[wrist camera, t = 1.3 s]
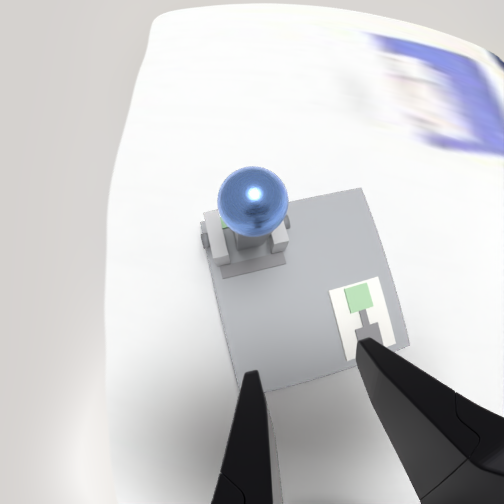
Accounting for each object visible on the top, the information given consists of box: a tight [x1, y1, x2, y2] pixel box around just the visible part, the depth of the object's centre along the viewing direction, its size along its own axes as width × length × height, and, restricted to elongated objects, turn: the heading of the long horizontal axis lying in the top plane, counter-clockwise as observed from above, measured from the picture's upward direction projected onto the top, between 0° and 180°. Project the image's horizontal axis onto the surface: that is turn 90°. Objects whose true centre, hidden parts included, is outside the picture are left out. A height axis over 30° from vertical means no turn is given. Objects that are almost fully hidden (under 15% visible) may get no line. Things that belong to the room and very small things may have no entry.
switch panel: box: [200, 188, 410, 393], centre depth 22 cm, size 13×13×4 cm
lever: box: [218, 166, 288, 251], centre depth 17 cm, size 3×3×10 cm
